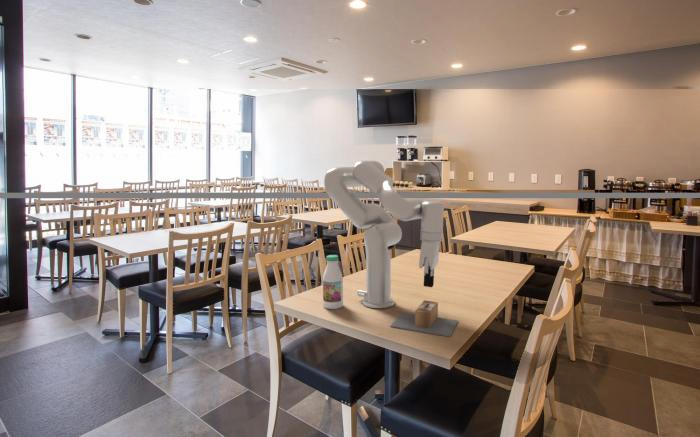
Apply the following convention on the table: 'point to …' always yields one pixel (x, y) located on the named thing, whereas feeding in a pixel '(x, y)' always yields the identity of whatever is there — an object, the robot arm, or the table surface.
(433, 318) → the cardboard box
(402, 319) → the charcoal mat
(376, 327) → the table surface
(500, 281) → the table surface
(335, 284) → the milk bottle
